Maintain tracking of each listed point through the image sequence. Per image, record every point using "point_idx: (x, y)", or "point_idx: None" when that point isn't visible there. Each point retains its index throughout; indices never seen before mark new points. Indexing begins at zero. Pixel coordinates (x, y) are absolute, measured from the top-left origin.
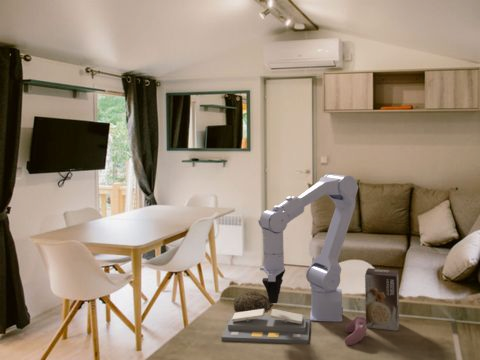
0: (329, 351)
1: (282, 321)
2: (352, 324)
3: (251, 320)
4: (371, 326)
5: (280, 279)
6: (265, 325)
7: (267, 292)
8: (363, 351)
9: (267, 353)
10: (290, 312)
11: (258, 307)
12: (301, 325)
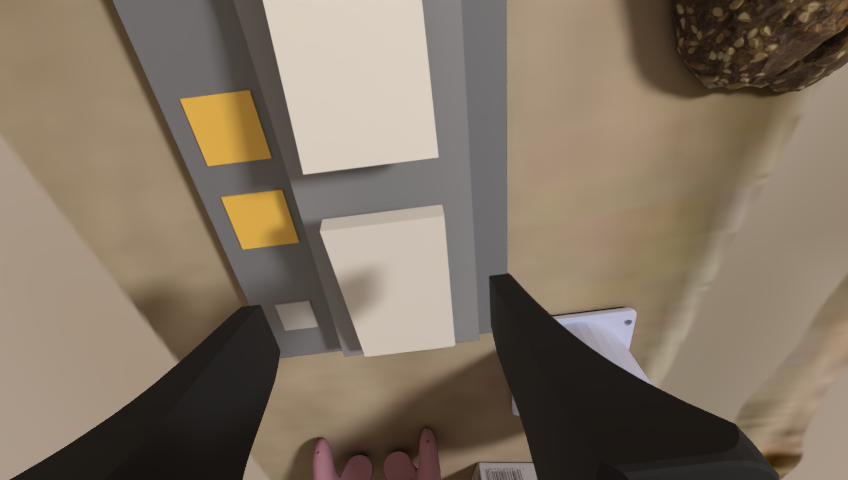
0: None
1: None
2: (420, 474)
3: None
4: (473, 478)
5: (538, 466)
6: (298, 176)
7: (147, 391)
8: (292, 471)
9: (91, 220)
10: (450, 303)
11: (690, 16)
12: None
